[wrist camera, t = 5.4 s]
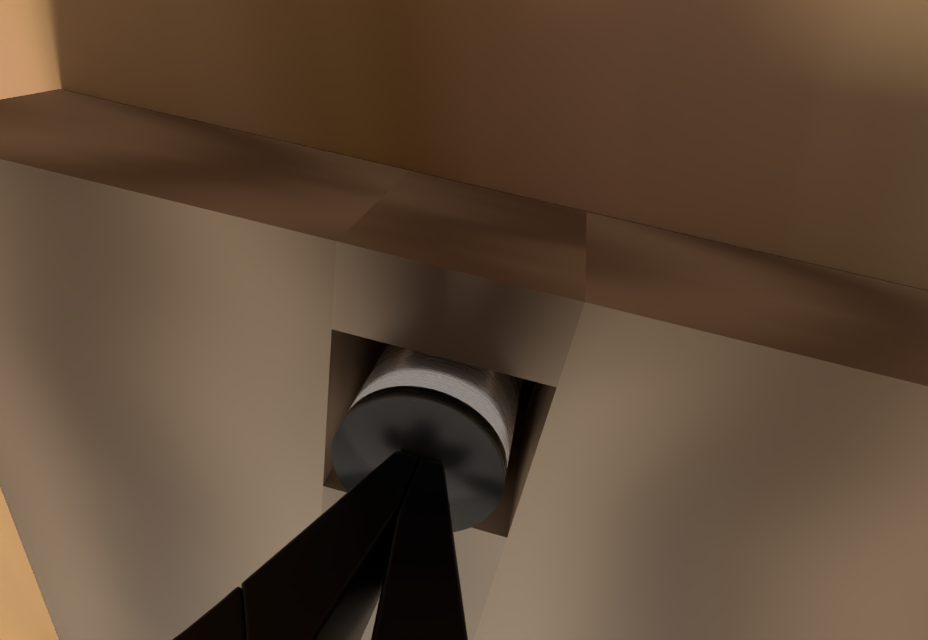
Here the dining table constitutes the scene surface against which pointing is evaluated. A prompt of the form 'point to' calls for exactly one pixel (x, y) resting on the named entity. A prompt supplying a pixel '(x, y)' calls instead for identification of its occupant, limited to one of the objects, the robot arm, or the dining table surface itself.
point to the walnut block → (451, 337)
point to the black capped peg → (433, 426)
